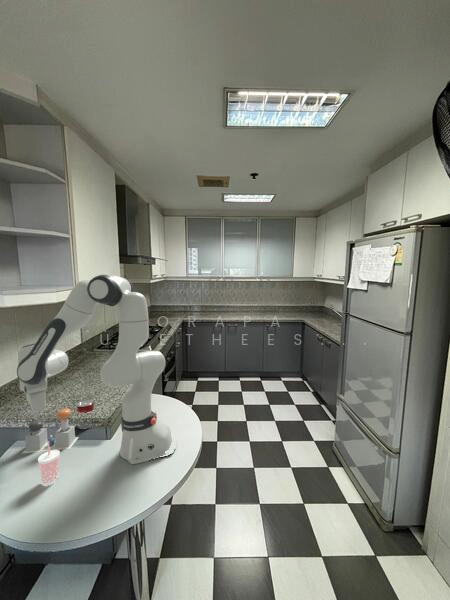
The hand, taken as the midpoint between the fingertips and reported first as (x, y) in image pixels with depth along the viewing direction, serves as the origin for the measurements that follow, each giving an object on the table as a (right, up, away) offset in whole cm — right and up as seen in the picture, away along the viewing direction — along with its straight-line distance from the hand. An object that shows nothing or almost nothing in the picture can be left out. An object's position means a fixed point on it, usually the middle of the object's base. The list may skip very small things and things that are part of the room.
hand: (36, 416), depth 101 cm
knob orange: (+11, -8, +2) cm, 14 cm away
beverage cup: (+18, -15, -17) cm, 28 cm away
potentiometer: (+5, -13, +1) cm, 14 cm away
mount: (+5, -14, +2) cm, 15 cm away
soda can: (+12, -13, +15) cm, 24 cm away
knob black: (0, -12, +1) cm, 12 cm away
